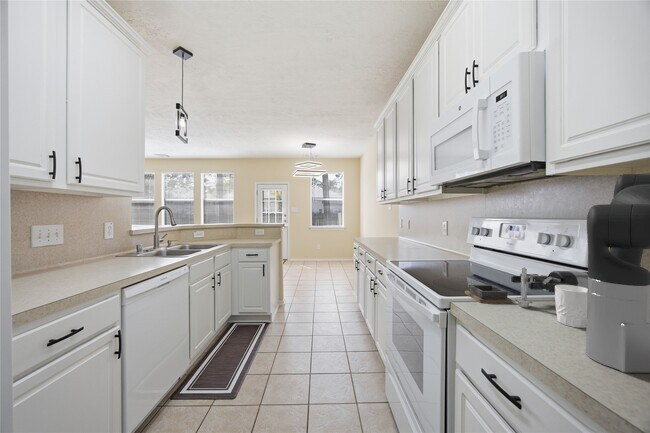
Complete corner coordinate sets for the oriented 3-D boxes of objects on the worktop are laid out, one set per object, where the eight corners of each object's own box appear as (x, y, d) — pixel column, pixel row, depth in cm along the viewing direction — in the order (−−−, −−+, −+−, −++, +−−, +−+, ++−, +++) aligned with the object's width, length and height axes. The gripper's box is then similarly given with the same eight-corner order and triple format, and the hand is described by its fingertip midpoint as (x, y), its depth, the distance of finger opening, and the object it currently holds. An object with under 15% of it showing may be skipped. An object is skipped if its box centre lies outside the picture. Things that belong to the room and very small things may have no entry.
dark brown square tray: (512, 302, 97) (512, 292, 97) (480, 302, 97) (480, 292, 97) (493, 293, 108) (493, 284, 108) (464, 293, 108) (464, 284, 108)
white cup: (598, 330, 75) (599, 293, 75) (564, 327, 77) (565, 291, 76) (578, 319, 83) (579, 285, 83) (548, 317, 84) (548, 283, 84)
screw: (513, 303, 97) (531, 305, 95) (515, 307, 93) (533, 309, 91) (514, 265, 97) (531, 266, 95) (516, 268, 92) (534, 269, 90)
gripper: (552, 266, 100) (506, 266, 101) (589, 276, 86) (536, 276, 86) (552, 287, 101) (506, 287, 101) (589, 300, 86) (535, 300, 87)
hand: (520, 282), depth 94 cm, fingers open, 8 cm apart
